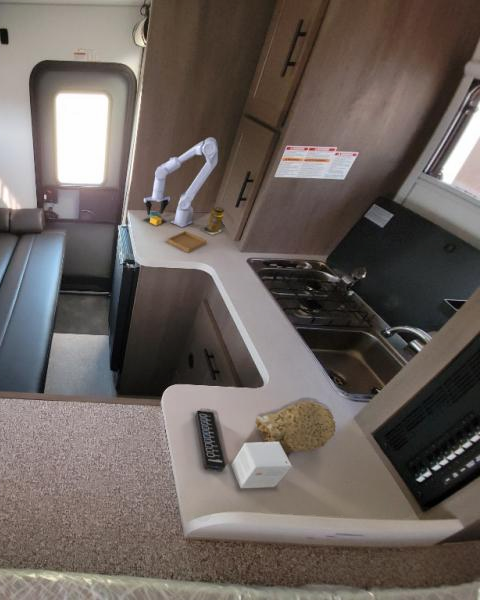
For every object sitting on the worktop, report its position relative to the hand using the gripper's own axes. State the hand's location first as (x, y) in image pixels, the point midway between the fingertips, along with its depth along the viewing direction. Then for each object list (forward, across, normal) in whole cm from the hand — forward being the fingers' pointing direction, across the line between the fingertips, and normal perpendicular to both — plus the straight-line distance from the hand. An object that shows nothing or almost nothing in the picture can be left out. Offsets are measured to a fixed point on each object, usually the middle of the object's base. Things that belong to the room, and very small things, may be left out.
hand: (154, 213), depth 185 cm
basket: (+3, +6, -30) cm, 30 cm away
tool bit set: (+4, -35, -128) cm, 133 cm away
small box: (+4, -29, -138) cm, 141 cm away
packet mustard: (+3, -1, -6) cm, 7 cm away
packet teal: (+3, 0, 0) cm, 3 cm away
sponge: (+4, -12, -130) cm, 131 cm away
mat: (+3, 0, -2) cm, 4 cm away
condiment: (+4, +26, -19) cm, 32 cm away
